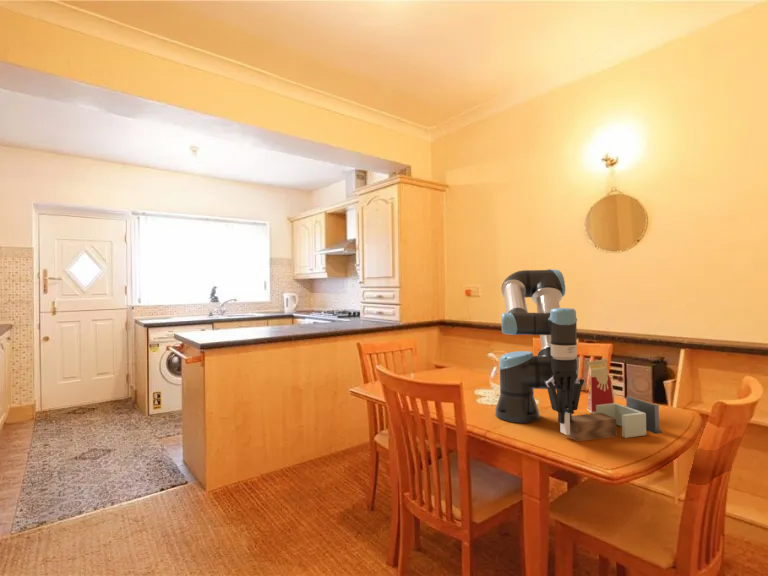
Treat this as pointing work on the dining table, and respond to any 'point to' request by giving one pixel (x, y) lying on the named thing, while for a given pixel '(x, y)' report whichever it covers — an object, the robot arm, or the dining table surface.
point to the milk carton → (599, 385)
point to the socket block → (625, 418)
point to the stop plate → (650, 411)
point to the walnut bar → (592, 426)
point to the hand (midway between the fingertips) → (565, 433)
